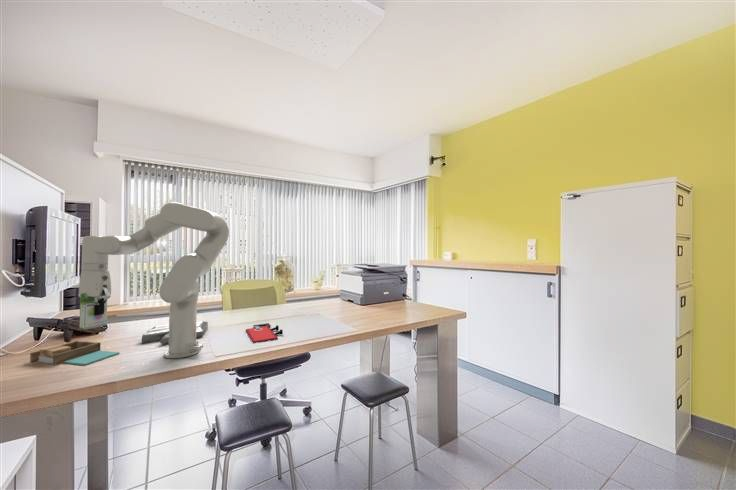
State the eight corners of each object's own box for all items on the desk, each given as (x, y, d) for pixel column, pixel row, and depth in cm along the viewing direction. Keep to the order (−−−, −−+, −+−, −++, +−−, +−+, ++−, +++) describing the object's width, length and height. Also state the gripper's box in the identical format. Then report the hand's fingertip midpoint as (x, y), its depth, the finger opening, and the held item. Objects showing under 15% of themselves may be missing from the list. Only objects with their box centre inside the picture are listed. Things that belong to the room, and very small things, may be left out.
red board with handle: (272, 324, 165) (243, 328, 158) (272, 319, 165) (243, 323, 158) (285, 339, 140) (252, 344, 132) (285, 333, 140) (252, 338, 132)
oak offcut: (70, 353, 112) (71, 346, 112) (52, 358, 107) (53, 351, 107) (58, 351, 114) (58, 345, 114) (39, 355, 109) (40, 349, 109)
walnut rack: (100, 350, 120) (100, 342, 120) (55, 365, 106) (55, 355, 106) (77, 348, 123) (77, 340, 123) (30, 362, 108) (30, 353, 108)
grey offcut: (72, 359, 112) (72, 353, 112) (53, 364, 107) (54, 358, 107) (57, 357, 114) (57, 351, 114) (38, 362, 109) (38, 356, 109)
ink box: (85, 330, 108) (86, 294, 109) (78, 328, 110) (79, 293, 110) (107, 325, 115) (108, 291, 115) (100, 324, 116) (101, 291, 117)
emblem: (177, 317, 159) (221, 320, 153) (177, 327, 159) (221, 330, 153) (125, 331, 132) (177, 335, 126) (125, 343, 131) (177, 348, 126)
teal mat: (119, 353, 117) (119, 352, 117) (85, 365, 105) (85, 363, 105) (99, 351, 119) (99, 350, 119) (64, 363, 107) (64, 361, 107)
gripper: (122, 267, 115) (121, 313, 115) (88, 266, 118) (87, 311, 118) (102, 268, 107) (100, 317, 107) (66, 267, 111) (65, 315, 110)
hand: (93, 313), depth 112 cm, fingers closed on ink box, 4 cm apart
